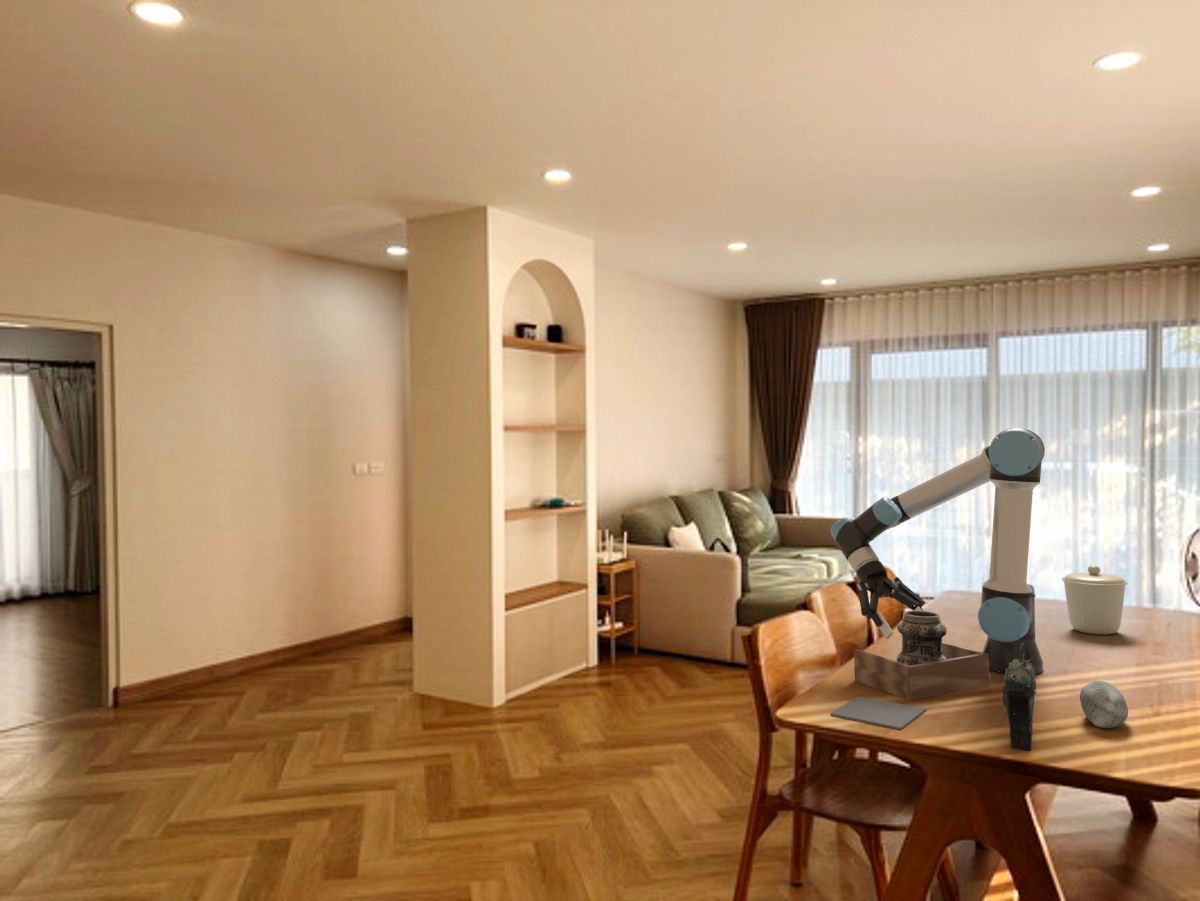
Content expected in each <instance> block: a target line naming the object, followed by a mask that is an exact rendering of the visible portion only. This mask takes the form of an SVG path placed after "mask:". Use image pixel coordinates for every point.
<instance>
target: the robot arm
mask: <svg viewBox="0 0 1200 901" xmlns="http://www.w3.org/2000/svg"><path fill="white" fill-rule="evenodd" d="M1045 451H1046V450H1045V445H1044V442H1043V440H1042V438H1041V437H1040V436H1039V435H1038V434H1037V433H1035V432H1034V431H1032V430H1029V429H1026V428H1020V427H1015V428H1014V427H1013V428H1012V427H1011V428H1008V429H1004V430H1002V431H1000V432H999V433H998V434H997V435H995V437H993V439H992V441H991V442H990V445H989V446H988V445H987V446H986V447H983V449H982V451H981V454H978V455H977V456H975V457H973V458H970V459H969V460H967V461H964V462H962V463H960V464H958V465H956V466H955V467H954V466H953V467H952V468H950V469H948V470H946V471H944V472H942V473H940V474H938V475H936V476H934V477H932V478H930V479H928V480H926V481H924V482H922V483H920V484H918V485H915V486H914V487H912V488H910V489H908V490H906V491H903V492H902V493H900V494H897V495H896V496H894V497H891V498H889V497H887V496H883V497H881V498H880V499H878V500H877V501H874V502H873V504H872V505H871V506H869V507H868V508H867V509H866V510H864V511H863V512H861V514H860V515H858V516H857V517H856V518H854V519H853V518H852V517H848V516H847V517H842V518H841V519H840V520H837V521H835V522H834V523H833V524H832V525H831V527H830V534H831V536H832V538H833V540H834V542H835V544H836V546H837V547H838V549H839V550H840V551H841V553H842V555H843V556H844V558H845V559H846V561H847V562H848V564H849V566H850V567H851V568H852V570H853V572H854V573H855V574H856V577H857V578H858V581H859V582H858V584H857V585H856V586H855V588H856V590H857V593H858V598H859V605H860V611H861V612H860V613H861V615H862V616H863V617H866V618H867V619H868V620H872V621H873V623H874V625H875V626H876V627H877V628H878V630H880V632H881V633H882V635H883V637H884V639H885V640H889V639H890V638H891V636H892V635H893V634H894V631H893V630H892V628H891V626H890V625H889V623H888V622H887V620H886V619H885V616H884V615H883V614H882V612H881V611H878V606H879V600H880V599H882V598H890V599H894V600H896V601H897V602H899V603H900V604H902V605H904V606H906V608H908V609H910V610H911V611H913V610H917V611H924V609H923V606H924V605H925V604H926V602H925V600H923V598H921V596H919V595H918V594H917V593H915V592H914V591H913V590H911V588H910V587H908V586H907V585H906V584H904V582H903V581H902V580H901V579H900V577H898V576H896V577H894V579H890V578H889V577H888V571H887V569H886V568H885V566H884V565H883V563H882V561H880V559H879V556H878V555H877V554H876V552H875V551H874V549H873V548H872V546H871V545H870V543H871V542H872V541H873V540H875V539H876V538H878V537H879V536H880V535H881V534H883V533H884V532H885V531H887V530H889V529H891V528H895V527H898V526H899V525H901V524H903V523H905V522H907V521H909V520H911V519H913V518H915V517H917V516H920V515H921V514H924V513H926V512H928V511H931V510H932V509H934V508H936V507H938V506H940V505H943V504H946V503H947V502H949V501H951V500H953V499H955V498H957V497H959V496H962V495H964V494H966V493H968V492H970V491H972V490H974V489H976V488H977V489H978V488H979V487H981V486H983V485H985V484H987V483H990V482H991V483H992V484H993V485H994V487H995V489H994V505H993V516H992V518H993V519H992V520H993V521H992V533H991V535H992V536H991V547H990V563H989V576H988V577H989V578H987V580H985V581H984V582H983V583H982V587H981V600H980V601H981V602H980V606H979V609H978V611H977V620H978V624H979V627H980V629H981V630H982V631H983V633H984V634H986V635H987V638H986V640H985V643H984V647H983V649H982V652H984V653H988V654H989V671H992V672H997V673H1003V674H1005V671H1006V668H1007V669H1008V665H1009V663H1010V662H1012V661H1013V660H1014V659H1018V660H1019V647H1020V644H1021V643H1024V646H1023V648H1022V651H1021V660H1022V655H1023V653H1025V654H1026V657H1025V660H1027V661H1028V660H1031V659H1032V661H1031V665H1032V666H1033V668H1034V675H1036V674H1040V673H1042V672H1044V661H1043V658H1042V656H1041V653H1040V650H1039V647H1038V644H1037V642H1036V614H1035V613H1036V608H1035V607H1036V604H1035V601H1036V600H1035V598H1036V593H1035V588H1034V586H1033V585H1032V584H1030V583H1027V578H1028V567H1029V564H1028V563H1029V552H1030V551H1029V549H1030V537H1031V536H1030V534H1031V522H1032V507H1033V492H1034V491H1033V490H1034V489H1035V488H1036V487H1037V486H1039V484H1041V475H1042V464H1043V462H1042V461H1043V459H1044V457H1045ZM868 591H869V592H870V594H869V592H868Z"/></svg>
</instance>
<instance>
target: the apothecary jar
mask: <svg viewBox="0 0 1200 901" xmlns="http://www.w3.org/2000/svg"><path fill="white" fill-rule="evenodd" d="M896 629H897V631H898V633H899V634H900V635H901V636H902V637H901V638H902V639H901V640H902V641H901V642H902V643H901V652H899V654H897V656H896V661H897V662H900V663H904V664H907V665H910V666H911V665H917V664H923V663H929V662H934V661H940V660H946V658H945V657H944V656H943V655H942V642H943V637H945V636H946V635H947V633H948V631H947V630H948V629H947V627H946V625H945V624H944V623H943V622H942V621H941V617H940V614H939V613H937V612H934V611H928V610H923V611H917V610H907V611H904V613H903V619H901V620H900V621H899V622H898V623H897V627H896Z"/></svg>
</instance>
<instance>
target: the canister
mask: <svg viewBox="0 0 1200 901" xmlns="http://www.w3.org/2000/svg"><path fill="white" fill-rule="evenodd" d="M1061 581H1063V583H1064V591H1065V592H1064V593H1065V598H1066V607H1067V612H1068V618H1069V623H1070V625H1071V627H1072V629H1074V630H1075V631H1078V632H1080V633H1084V634H1090V635H1102V636H1103V635H1113V634H1116V633H1118V631H1119V630H1120V627H1121V623H1122V618H1123V609H1124V600H1125V590H1126V585H1128V584H1129V582H1128V581H1127V580H1125V579H1124V578H1123V577H1121V576H1118V575H1115V574H1111V573H1101V568H1100V567H1099V565H1093V564H1092V565H1089V566H1088V567H1087V572H1072V573H1068V574H1066V575H1065V576H1063V577H1061Z"/></svg>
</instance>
